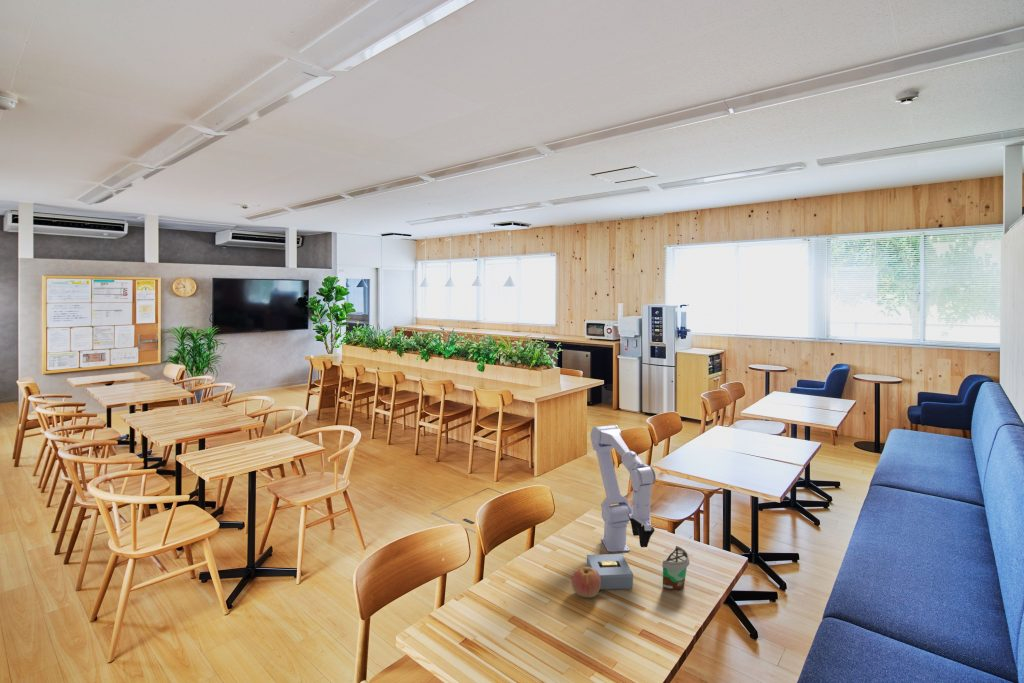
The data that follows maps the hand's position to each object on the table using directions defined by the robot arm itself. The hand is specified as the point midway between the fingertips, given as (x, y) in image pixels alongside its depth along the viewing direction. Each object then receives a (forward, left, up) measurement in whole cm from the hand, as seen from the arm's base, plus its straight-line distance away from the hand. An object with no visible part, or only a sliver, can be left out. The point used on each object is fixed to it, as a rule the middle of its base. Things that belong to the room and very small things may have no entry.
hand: (639, 540), depth 174 cm
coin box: (+6, -12, -9) cm, 16 cm away
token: (+6, -12, -9) cm, 16 cm away
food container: (+11, +9, -10) cm, 17 cm away
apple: (+14, -21, -9) cm, 27 cm away
